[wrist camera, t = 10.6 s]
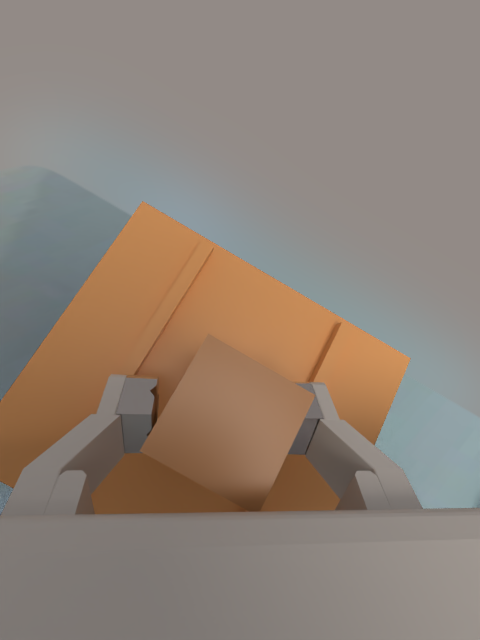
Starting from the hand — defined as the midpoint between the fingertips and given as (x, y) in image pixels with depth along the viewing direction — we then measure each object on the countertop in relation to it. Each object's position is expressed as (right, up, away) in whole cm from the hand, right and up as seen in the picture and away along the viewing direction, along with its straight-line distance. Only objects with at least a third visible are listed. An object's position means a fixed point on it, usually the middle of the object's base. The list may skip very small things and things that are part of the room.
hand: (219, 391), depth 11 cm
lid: (-1, -2, +6) cm, 6 cm away
